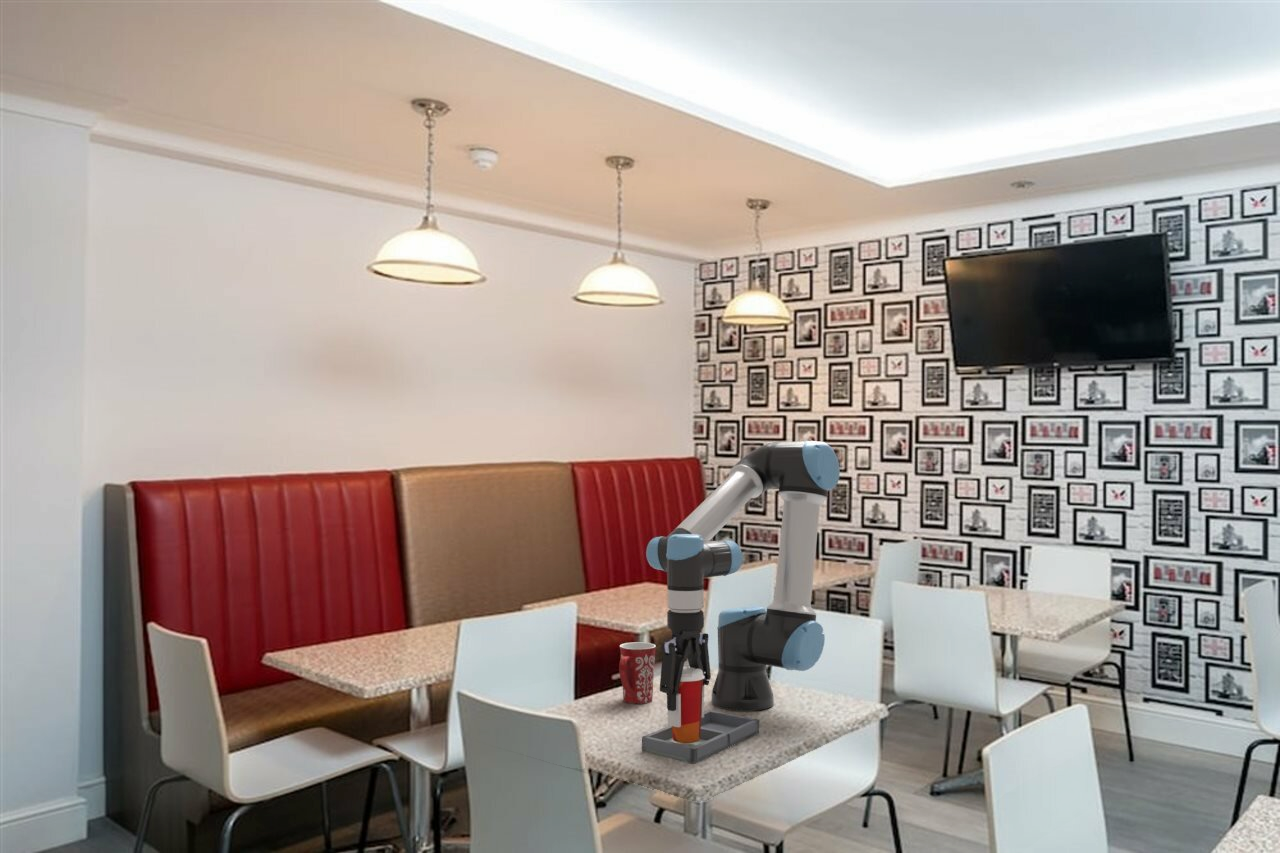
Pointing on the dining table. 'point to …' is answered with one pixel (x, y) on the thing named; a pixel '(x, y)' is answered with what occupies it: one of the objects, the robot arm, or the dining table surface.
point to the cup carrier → (703, 737)
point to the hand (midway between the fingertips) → (686, 720)
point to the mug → (637, 671)
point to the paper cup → (690, 706)
